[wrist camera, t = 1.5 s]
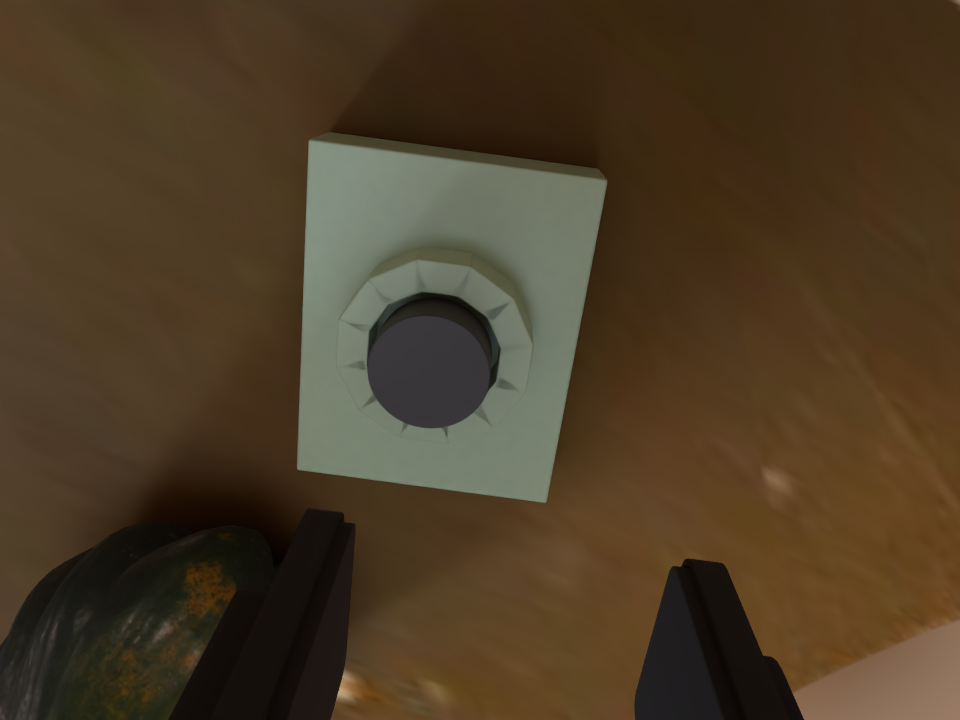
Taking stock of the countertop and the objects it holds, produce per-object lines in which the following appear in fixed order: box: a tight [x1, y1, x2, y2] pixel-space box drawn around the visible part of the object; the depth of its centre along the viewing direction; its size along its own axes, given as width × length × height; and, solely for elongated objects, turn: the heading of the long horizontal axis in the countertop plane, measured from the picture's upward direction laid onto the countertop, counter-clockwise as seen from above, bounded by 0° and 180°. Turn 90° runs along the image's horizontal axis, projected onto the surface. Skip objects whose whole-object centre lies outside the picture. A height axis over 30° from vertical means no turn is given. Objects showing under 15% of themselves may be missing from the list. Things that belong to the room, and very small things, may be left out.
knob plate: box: [297, 132, 607, 503], centre depth 30 cm, size 14×11×5 cm
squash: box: [0, 522, 282, 720], centre depth 33 cm, size 14×15×15 cm
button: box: [367, 298, 492, 428], centre depth 27 cm, size 4×4×2 cm
